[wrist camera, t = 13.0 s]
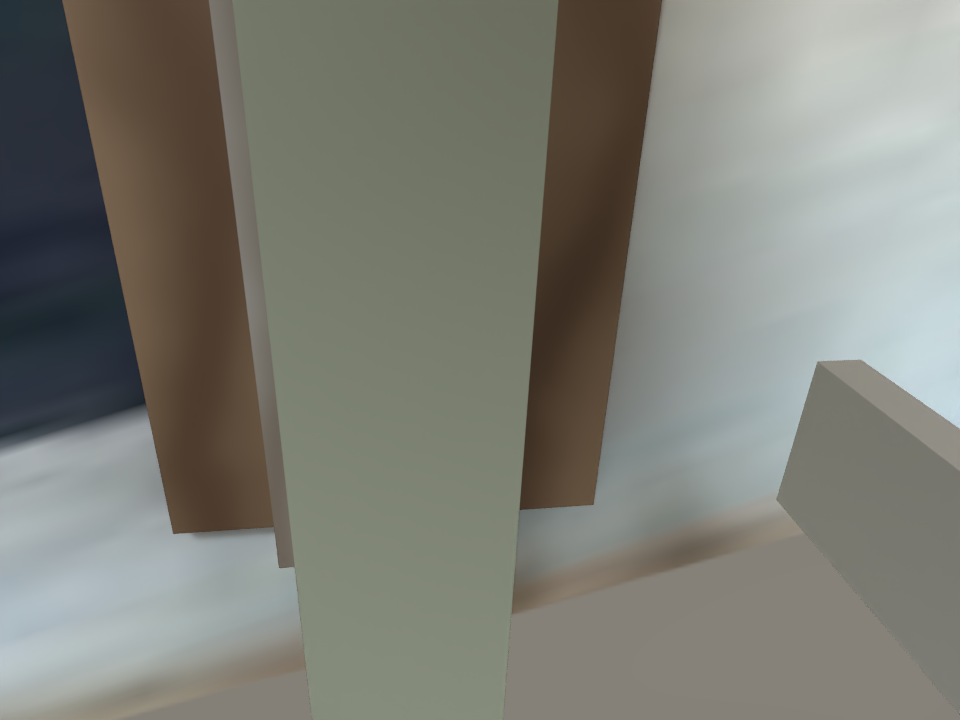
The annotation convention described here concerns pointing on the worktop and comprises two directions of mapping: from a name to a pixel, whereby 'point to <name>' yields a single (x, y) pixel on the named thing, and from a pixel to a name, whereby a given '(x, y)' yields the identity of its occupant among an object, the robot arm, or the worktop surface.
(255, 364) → the walnut track
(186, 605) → the worktop surface
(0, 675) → the worktop surface
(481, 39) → the door panel
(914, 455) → the robot arm
